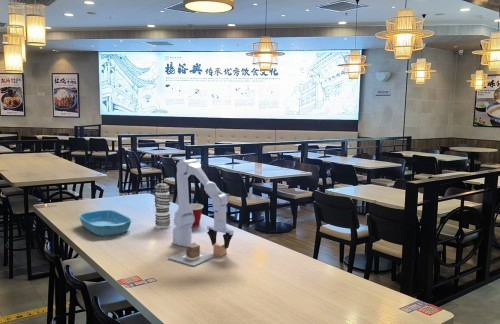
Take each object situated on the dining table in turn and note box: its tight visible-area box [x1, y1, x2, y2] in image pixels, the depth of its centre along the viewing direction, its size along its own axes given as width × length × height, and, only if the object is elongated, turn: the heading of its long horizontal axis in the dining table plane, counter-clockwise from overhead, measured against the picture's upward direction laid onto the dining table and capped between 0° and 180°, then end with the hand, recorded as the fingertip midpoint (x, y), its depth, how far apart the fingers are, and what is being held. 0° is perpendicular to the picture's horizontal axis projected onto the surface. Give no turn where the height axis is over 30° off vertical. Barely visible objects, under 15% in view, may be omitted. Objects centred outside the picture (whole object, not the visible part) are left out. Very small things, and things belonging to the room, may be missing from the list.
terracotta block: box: [212, 241, 228, 257], centre depth 204 cm, size 4×4×5 cm
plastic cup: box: [189, 203, 204, 228], centre depth 251 cm, size 11×11×12 cm
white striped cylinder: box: [154, 182, 171, 229], centre depth 248 cm, size 9×9×25 cm
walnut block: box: [185, 243, 201, 258], centre depth 198 cm, size 4×4×5 cm
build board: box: [167, 250, 217, 268], centre depth 198 cm, size 16×16×1 cm
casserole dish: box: [78, 209, 133, 237], centre depth 243 cm, size 37×22×7 cm, turn 41°
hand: (220, 246), depth 204 cm, fingers open, 7 cm apart
